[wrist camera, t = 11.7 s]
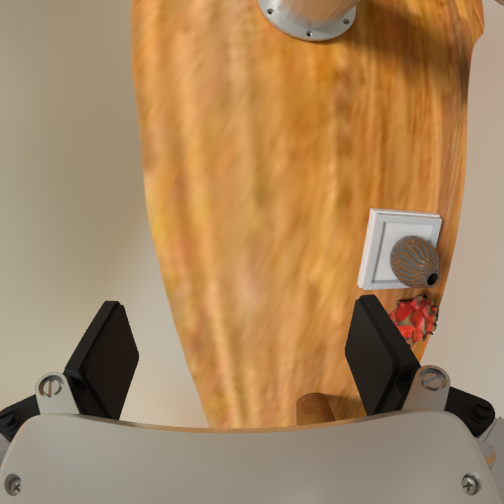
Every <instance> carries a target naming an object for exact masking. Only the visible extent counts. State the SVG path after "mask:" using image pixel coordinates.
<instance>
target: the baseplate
mask: <svg viewBox="0 0 504 504" xmlns="http://www.w3.org/2000/svg"><path fill="white" fill-rule="evenodd" d="M441 223H442V219H441V218H440V215H438V214H436V213H429V212H418V211H406V210H393V209H379V208H370V215H369V222H368V228H367V234H366V240H365V246H364V251H363V257H362V262H361V267H360V272H359V277H358V282H357V285H358V286H359V288H363V290H371V289H394V288H411V287H408V286H406V285H404V284H403V283H401V282H400V281H399V280H398V279H397V278H396V276H395V275H394V273H393V271H392V269H391V266H390V253H391V250H392V248H393V246H394V245H395V243H396V242H397V241H398V240H400V239H401V238H403V237H405V236H418V237H421V238H423V239H425V240H427V241H428V242H429V243H430V244H431V245H432V246H433V247H434V249H435V248H436V244H437V240H438V236H439V232H440V227H441Z"/></svg>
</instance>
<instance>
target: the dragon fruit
mask: <svg viewBox="0 0 504 504" xmlns="http://www.w3.org/2000/svg"><path fill="white" fill-rule="evenodd" d="M423 297H425V298H426V299H427V296H426V294H423V295H419V296H415V298H414V300H413V301H405V302H403V301H402V302H401V301H400V300H398V301H397V306H399V307H398V308H397V309H396V310H394V311H393V312H391V313H390V315H389V317H390V318H391V320H392V321H393V323H394V324H395V325H396V326H397V328H398V329H399V331H400V332H401V334H402V336H403V337H404V339H405V340H406V342H407V344H408V345H409V347H410V348H412V347H413V346H414V344H415V343H416V342H417V341H418V340H419V341H421V342H423V341H424V340H426V336H427V334H430V335H433V333H432V332H433V331H435V329H436V326H437V324H436V322H437V320H438V319H437V318H438V313H439V309H438V307H437V306H436V305H434V303H435V300H432V299H430V300H428V301H426V302H425V301H424V299H423ZM431 331H432V332H431Z"/></svg>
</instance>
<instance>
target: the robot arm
mask: <svg viewBox="0 0 504 504" xmlns="http://www.w3.org/2000/svg"><path fill="white" fill-rule="evenodd" d="M360 1H361V0H258V3H259V8H260V10H261V12H262V14H263V15H264V17H265V18H266V19H267V20H268V22H269V23H271V24H272V25H273V26H274V27H275V28H277V29H278V30H280V31H281V32H283V33H285V34H287V35H289V36H291V37H294V38H298V39H301V40H307V41H324V40H330V39H332V38H335V37H337V36H339V35H341V34H343V33H344V32H345V31H346V30H348V29H349V27H350V26H351V25H352V23H353V21H354V19H355V16H356V5H357V4H358V3H359V2H360ZM495 1H496V2H498V3H499V4H501V5H502V6H504V0H495ZM269 12H270V13H272V14H268V13H269ZM343 22H345V23H346V24H344V23H343ZM306 34H309V35H310V36H307V35H306ZM345 356H346V359H347V361H348V364H349V367H350V369H351V372H352V375H353V377H354V380H355V383H356V386H357V388H358V391H359V394H360V397H361V399H362V402H363V405H364V408H365V411H366V414H367V416H365V417H359V418H353V419H347V420H340V421H333V422H326V423H318V424H310V425H300V426H288V427H273V428H251V429H210V428H208V429H207V428H187V427H173V426H161V425H152V424H142V423H135V422H127V421H120V420H119V418H120V415H121V412H122V408H123V405H124V402H125V399H126V396H127V393H128V390H129V387H130V384H131V381H132V378H133V375H134V372H135V369H136V367H137V364H138V361H139V353H138V350H137V347H136V344H135V341H134V338H133V334H132V331H131V328H130V325H129V322H128V318H127V315H126V311H125V308H124V306H123V305H120V303H119V302H118V301H105V302H104V303H103V305H102V307H101V308H100V309H99V311H98V313H97V314H96V316H95V318H94V319H93V321H92V322H91V324H90V326H89V327H88V329H87V330H86V332H85V334H84V335H83V337H82V339H81V341H80V342H79V344H78V346H77V347H76V349H75V351H74V353H73V354H72V356H71V358H70V360H69V361H68V363H67V365H66V367H65V370H64V372H63V374H61V373H58V372H51V373H48V374H45V375H44V376H42V377H41V378H40V379H39V380H38V382H37V383H36V386H35V393H36V394H34V395H33V396H30V397H28V398H26V399H24V400H22V401H20V402H17V403H15V404H13V405H11V406H9V407H6V408H5V409H3V410H2V411H1V412H0V504H504V419H503V418H501V417H499V418H498V419H497V418H496V417H495V411H494V408H493V407H492V405H491V404H490V403H489V402H488V401H486V400H484V399H482V398H479V397H477V396H474V395H471V394H469V393H466V392H464V391H461V390H459V389H456V388H454V387H451V386H450V378H449V376H448V374H447V373H446V372H445V371H444V370H443V369H442V368H440V367H437V366H433V365H426V366H423V367H421V365H420V364H419V362H418V360H417V358H416V357H415V355H414V353H413V352H412V350H411V349H410V347H409V345H408V344H407V342H406V340H405V339H404V337H403V336H402V334H401V332H400V331H399V329H398V328H397V326H396V325H395V324H394V323H393V321H392V320H391V318H390V317H389V315H388V314H387V312H386V311H385V309H384V308H383V306H382V304H381V303H380V301H379V300H378V298H377V297H376V296H375V295H362V296H360V298H359V299H357V300H356V302H355V306H354V311H353V316H352V320H351V325H350V329H349V334H348V338H347V342H346V346H345Z"/></svg>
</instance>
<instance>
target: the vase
mask: <svg viewBox="0 0 504 504" xmlns="http://www.w3.org/2000/svg"><path fill="white" fill-rule="evenodd" d="M390 266H391V269H392V271H393V273H394V275H395V276H396V278H397V279H398V280H399V281H400V282H401V283H403V284H404V285H406V286H408V287H411V288H424V287H428V288H432V287H434V286H435V285H436V284H437V283H438V282H439V279H440V273H439V258H438V255H437V252H436V250H435V249H434V247H433V246H432V245H431V244H430V243H429V242H428V241H427V240H425V239H423V238H421V237H418V236H405V237H403V238H401V239H400V240H398V241H397V242H396V243H395V245H394V246H393V248H392V250H391V253H390Z"/></svg>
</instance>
